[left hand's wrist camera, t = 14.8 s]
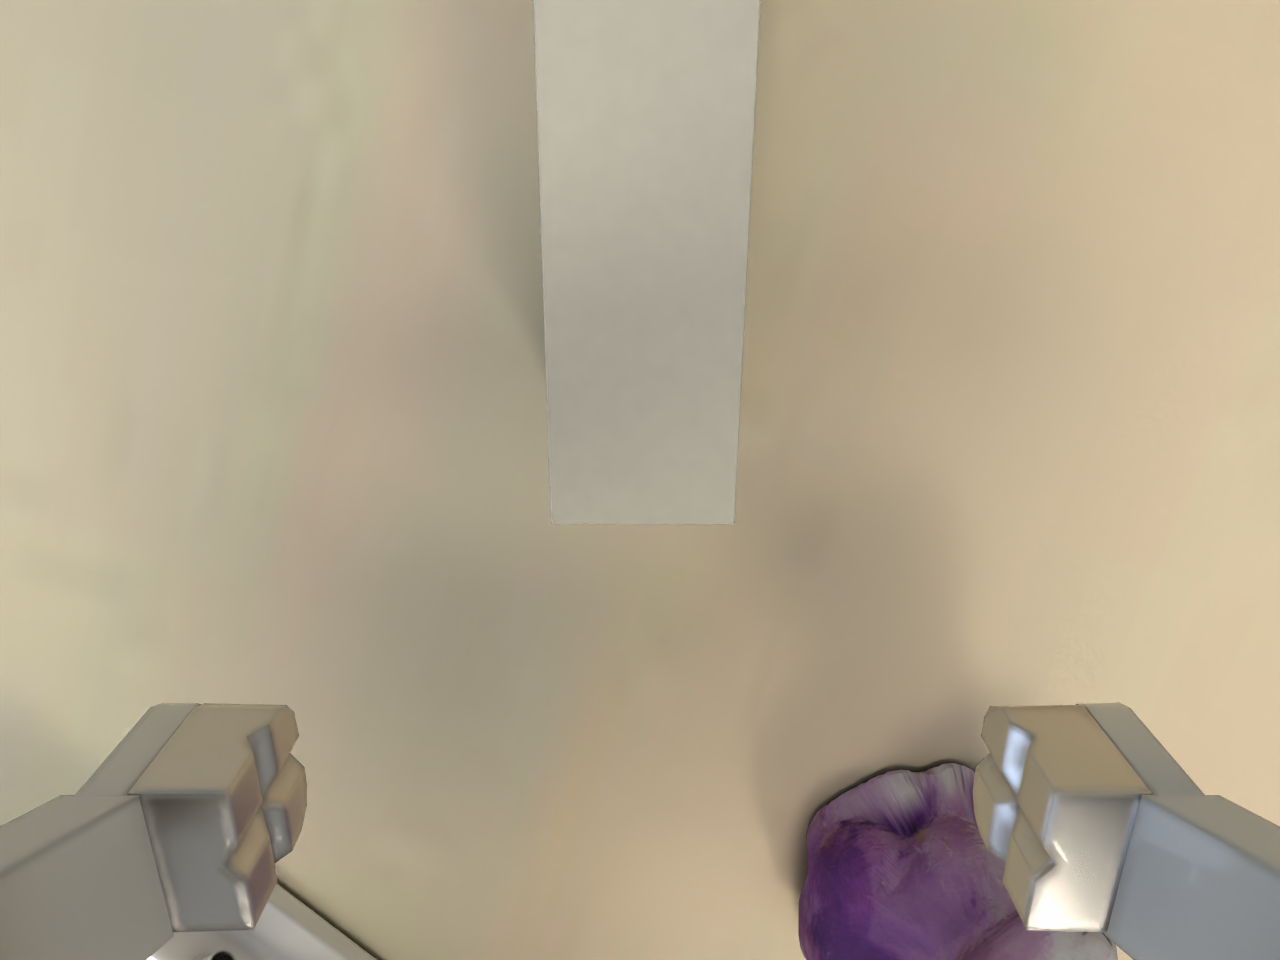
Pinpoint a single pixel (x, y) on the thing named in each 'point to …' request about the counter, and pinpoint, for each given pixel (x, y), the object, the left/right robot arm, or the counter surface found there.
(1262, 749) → the counter surface
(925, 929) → the figurine
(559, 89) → the bar
